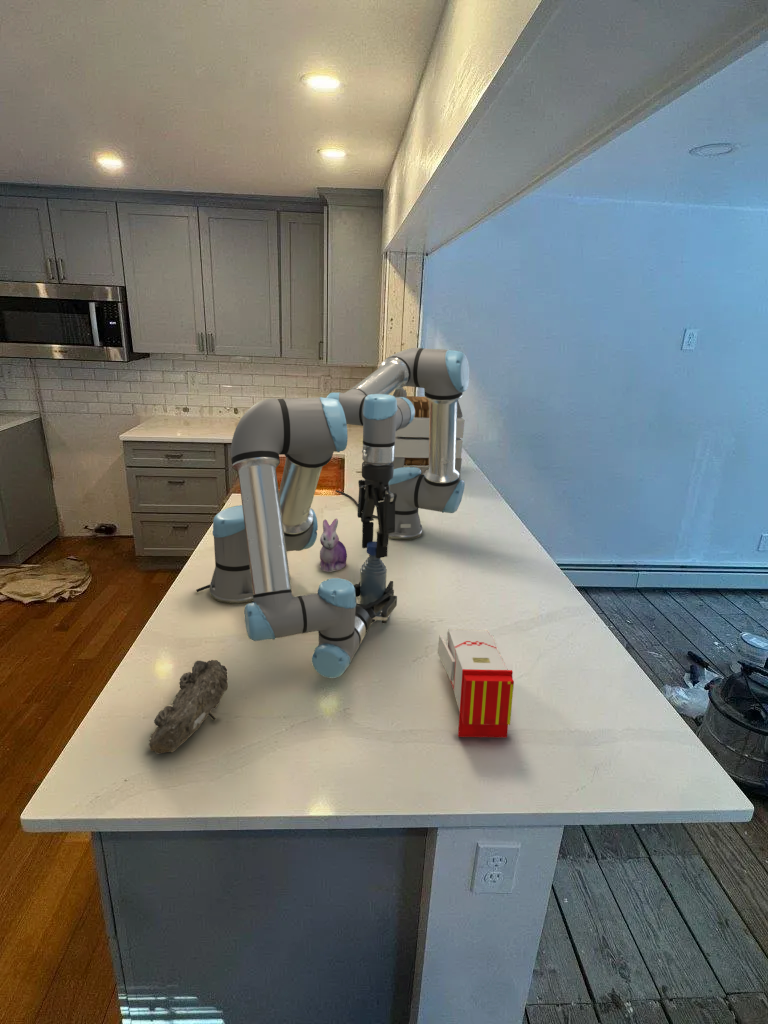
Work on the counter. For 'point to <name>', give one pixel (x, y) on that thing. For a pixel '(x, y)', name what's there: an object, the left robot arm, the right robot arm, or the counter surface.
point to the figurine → (331, 548)
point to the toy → (478, 682)
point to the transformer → (421, 435)
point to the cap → (371, 548)
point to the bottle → (372, 580)
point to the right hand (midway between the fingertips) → (374, 551)
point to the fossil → (189, 705)
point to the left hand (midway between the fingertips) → (377, 583)
